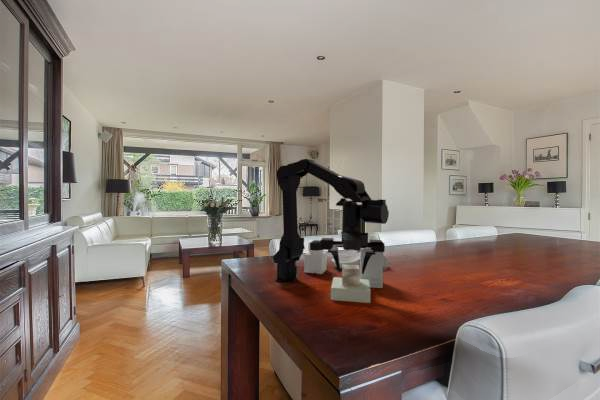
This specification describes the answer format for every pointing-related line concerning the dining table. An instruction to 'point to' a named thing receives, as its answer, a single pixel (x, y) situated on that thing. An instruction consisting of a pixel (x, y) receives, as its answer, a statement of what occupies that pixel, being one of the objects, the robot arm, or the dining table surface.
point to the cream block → (350, 275)
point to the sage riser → (350, 291)
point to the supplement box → (373, 269)
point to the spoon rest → (354, 260)
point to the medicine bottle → (315, 258)
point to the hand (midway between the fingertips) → (350, 273)
